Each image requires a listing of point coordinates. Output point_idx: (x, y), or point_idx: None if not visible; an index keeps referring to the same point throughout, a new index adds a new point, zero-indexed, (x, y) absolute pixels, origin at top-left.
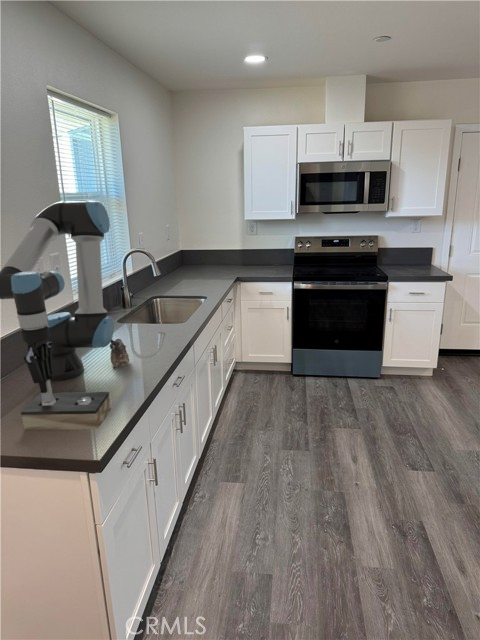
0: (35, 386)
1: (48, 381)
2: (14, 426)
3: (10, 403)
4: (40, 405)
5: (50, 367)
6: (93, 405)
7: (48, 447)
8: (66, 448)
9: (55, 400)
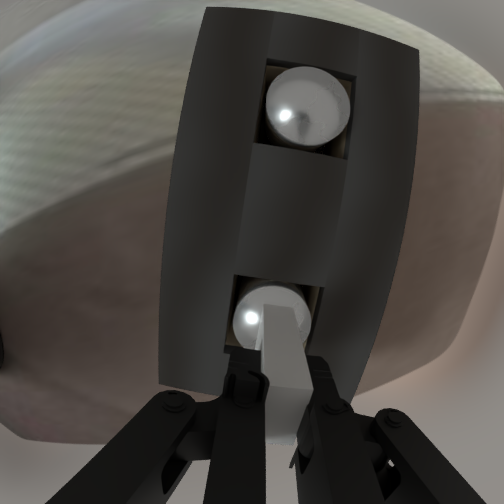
0: (35, 384)
1: (297, 385)
2: None
3: None
4: None
5: (165, 456)
6: (368, 55)
7: (460, 238)
8: (475, 178)
9: (274, 288)
